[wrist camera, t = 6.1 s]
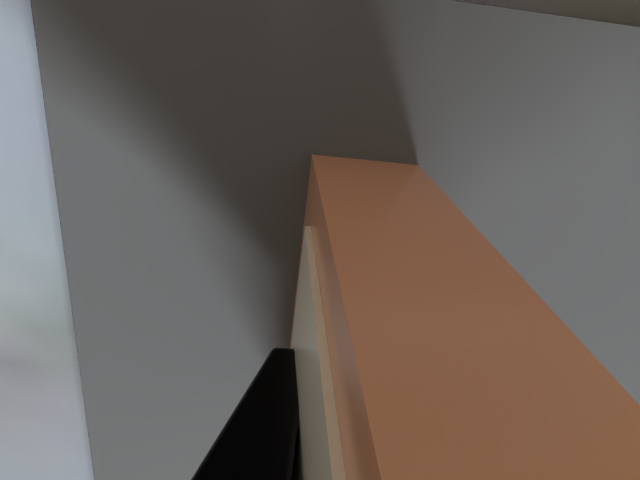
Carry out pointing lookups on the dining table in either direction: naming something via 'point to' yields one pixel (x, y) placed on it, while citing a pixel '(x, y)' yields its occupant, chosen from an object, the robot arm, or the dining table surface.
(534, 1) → the dining table surface
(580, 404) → the tile
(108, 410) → the mat
